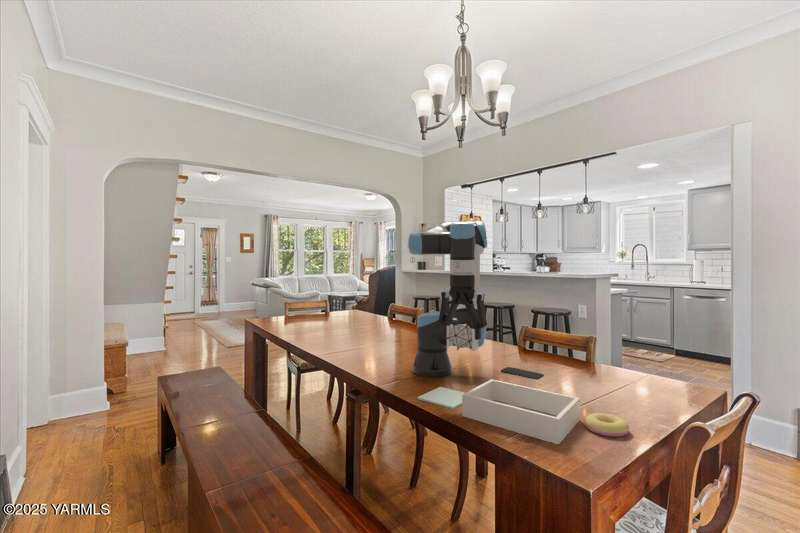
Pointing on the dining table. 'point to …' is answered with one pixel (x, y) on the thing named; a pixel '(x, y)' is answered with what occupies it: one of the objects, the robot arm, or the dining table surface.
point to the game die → (461, 335)
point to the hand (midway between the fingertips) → (462, 347)
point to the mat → (443, 397)
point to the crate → (519, 419)
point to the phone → (522, 373)
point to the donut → (607, 424)
